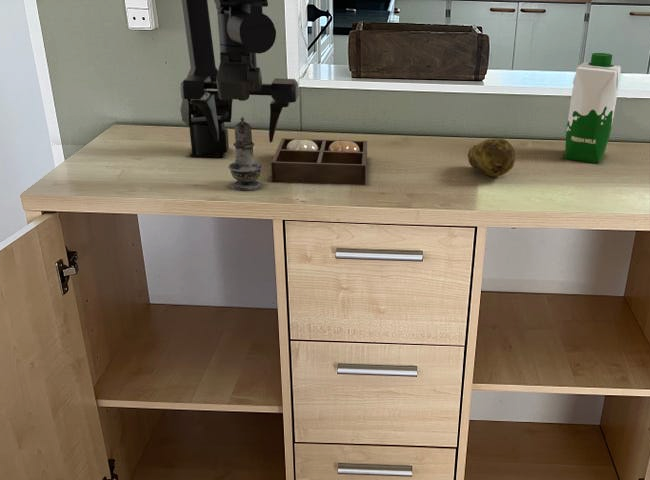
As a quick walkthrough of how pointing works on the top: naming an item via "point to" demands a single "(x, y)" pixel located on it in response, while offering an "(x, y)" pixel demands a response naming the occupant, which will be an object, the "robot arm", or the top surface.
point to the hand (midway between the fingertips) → (244, 141)
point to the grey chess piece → (245, 160)
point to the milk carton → (592, 108)
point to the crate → (319, 164)
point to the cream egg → (302, 145)
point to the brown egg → (344, 146)
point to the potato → (492, 157)
